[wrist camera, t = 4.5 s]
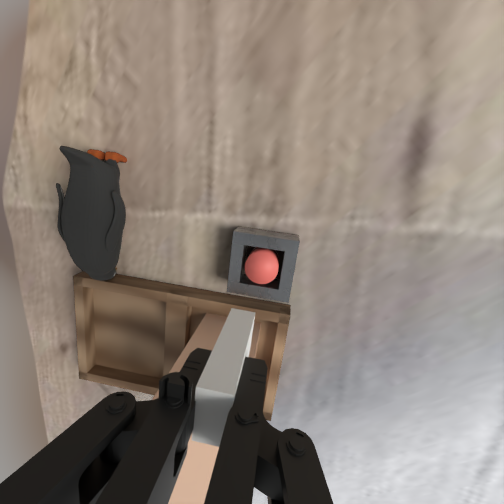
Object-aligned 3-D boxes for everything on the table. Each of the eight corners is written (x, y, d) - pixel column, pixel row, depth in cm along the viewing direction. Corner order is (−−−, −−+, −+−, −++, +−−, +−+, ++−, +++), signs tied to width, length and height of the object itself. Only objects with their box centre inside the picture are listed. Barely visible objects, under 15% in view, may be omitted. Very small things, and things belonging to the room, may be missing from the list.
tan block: (206, 312, 34) (145, 409, 20) (261, 323, 33) (239, 430, 19) (200, 377, 37) (143, 504, 22) (250, 388, 36) (225, 525, 22)
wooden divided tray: (88, 269, 36) (73, 275, 33) (290, 305, 33) (290, 315, 31) (92, 366, 40) (79, 378, 37) (271, 404, 37) (270, 420, 35)
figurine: (99, 157, 34) (89, 272, 36) (26, 128, 25) (16, 287, 26) (154, 164, 34) (142, 281, 35) (101, 136, 24) (86, 300, 25)
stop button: (250, 243, 31) (246, 249, 28) (281, 248, 31) (280, 255, 28) (247, 272, 32) (242, 281, 29) (276, 277, 32) (275, 286, 29)
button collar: (238, 226, 31) (233, 231, 28) (298, 235, 31) (299, 241, 28) (232, 281, 33) (226, 291, 30) (288, 291, 33) (288, 302, 30)
